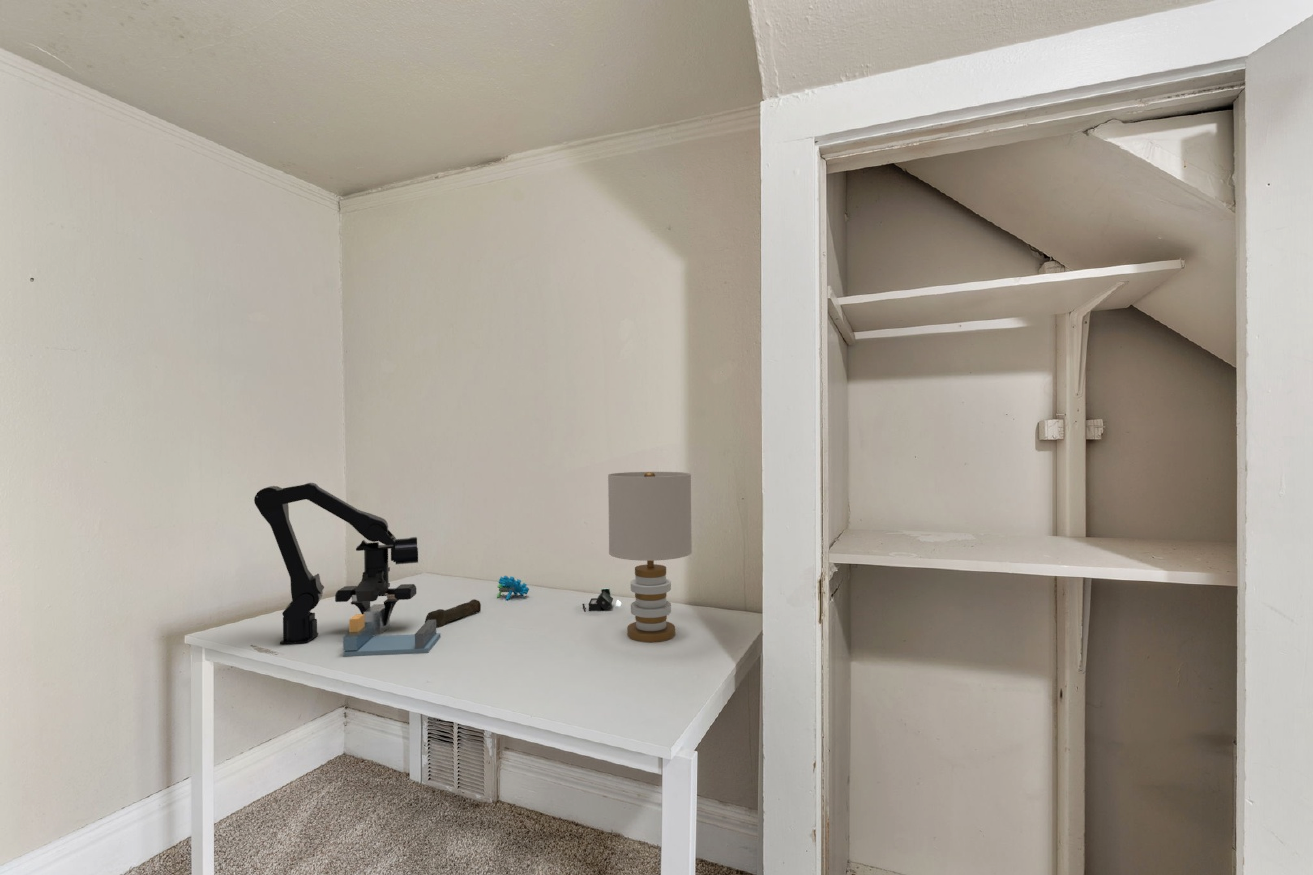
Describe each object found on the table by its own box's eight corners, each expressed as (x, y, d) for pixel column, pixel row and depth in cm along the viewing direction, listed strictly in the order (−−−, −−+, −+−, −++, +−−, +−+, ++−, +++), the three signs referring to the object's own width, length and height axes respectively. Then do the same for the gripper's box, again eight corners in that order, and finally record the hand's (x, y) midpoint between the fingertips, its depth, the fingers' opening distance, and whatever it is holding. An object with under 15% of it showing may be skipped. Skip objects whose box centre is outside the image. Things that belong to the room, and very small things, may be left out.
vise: (343, 656, 139) (343, 636, 139) (362, 640, 150) (361, 622, 150) (428, 652, 141) (428, 633, 141) (440, 637, 152) (440, 619, 152)
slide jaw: (343, 650, 139) (343, 623, 139) (361, 635, 150) (361, 610, 150) (356, 650, 139) (356, 623, 139) (374, 634, 150) (374, 609, 150)
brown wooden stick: (471, 611, 175) (471, 595, 175) (481, 613, 173) (481, 597, 173) (417, 630, 158) (417, 613, 158) (428, 632, 156) (427, 615, 156)
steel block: (363, 635, 154) (363, 611, 154) (374, 626, 161) (373, 604, 161) (380, 634, 154) (380, 611, 154) (389, 626, 161) (389, 603, 161)
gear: (536, 591, 190) (517, 573, 184) (528, 608, 186) (509, 590, 180) (510, 591, 196) (491, 574, 190) (502, 608, 192) (483, 590, 186)
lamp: (685, 651, 140) (683, 475, 140) (599, 645, 144) (597, 474, 144) (697, 623, 161) (696, 469, 161) (621, 619, 165) (620, 469, 165)
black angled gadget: (623, 617, 169) (622, 597, 169) (569, 617, 169) (569, 598, 169) (626, 602, 184) (626, 584, 184) (577, 602, 184) (577, 584, 184)
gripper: (325, 574, 149) (325, 637, 149) (403, 571, 150) (404, 634, 150) (344, 564, 160) (344, 623, 160) (416, 562, 162) (417, 620, 162)
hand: (377, 625), depth 158 cm, fingers closed on steel block, 4 cm apart
